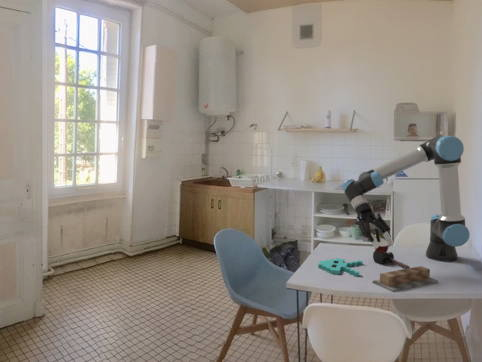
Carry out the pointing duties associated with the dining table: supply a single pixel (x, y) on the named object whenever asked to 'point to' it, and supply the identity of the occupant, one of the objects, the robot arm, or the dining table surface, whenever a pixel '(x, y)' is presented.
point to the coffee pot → (386, 258)
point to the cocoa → (381, 243)
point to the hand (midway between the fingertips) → (384, 245)
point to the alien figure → (339, 266)
